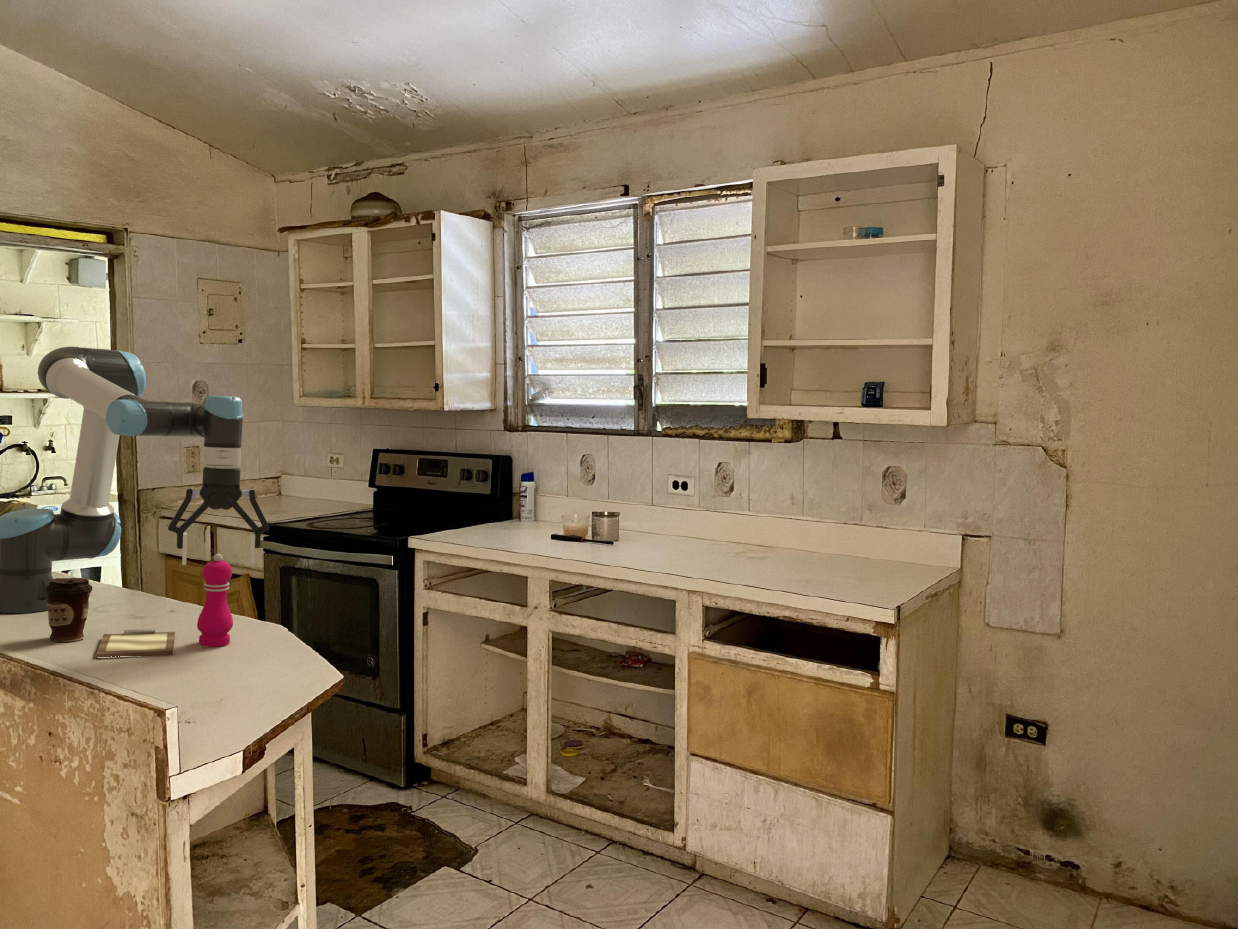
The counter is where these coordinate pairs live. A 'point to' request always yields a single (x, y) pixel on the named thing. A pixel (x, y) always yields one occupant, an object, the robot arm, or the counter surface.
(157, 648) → the clipboard
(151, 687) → the counter surface
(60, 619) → the coffee cup
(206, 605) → the pepper mill
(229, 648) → the counter surface
